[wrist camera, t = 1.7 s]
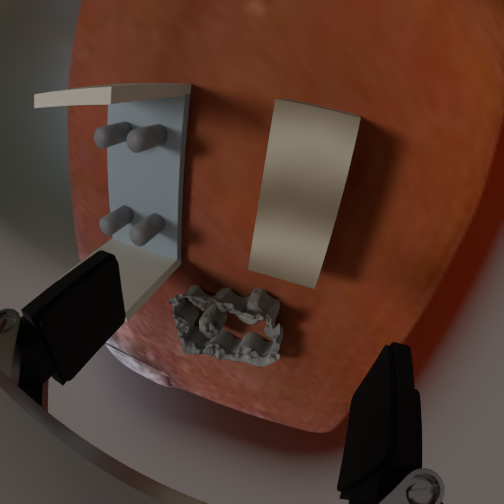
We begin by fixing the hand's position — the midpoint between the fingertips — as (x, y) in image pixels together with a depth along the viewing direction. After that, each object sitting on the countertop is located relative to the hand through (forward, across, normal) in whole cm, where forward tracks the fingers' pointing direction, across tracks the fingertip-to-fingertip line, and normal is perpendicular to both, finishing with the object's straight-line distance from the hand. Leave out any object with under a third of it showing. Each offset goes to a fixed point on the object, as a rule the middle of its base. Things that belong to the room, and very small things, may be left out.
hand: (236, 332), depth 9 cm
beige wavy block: (+15, 0, -1) cm, 15 cm away
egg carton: (+16, +4, +14) cm, 21 cm away
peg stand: (+15, +14, +1) cm, 20 cm away
